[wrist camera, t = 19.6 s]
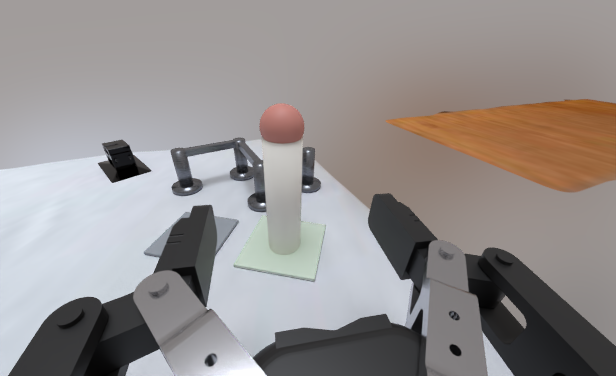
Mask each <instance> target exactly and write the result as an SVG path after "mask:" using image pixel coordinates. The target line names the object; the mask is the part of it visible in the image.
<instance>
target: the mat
mask: <svg viewBox="0 0 616 376" xmlns="http://www.w3.org/2000/svg"><path fill="white" fill-rule="evenodd" d="M190 214H191V213H190V212H185V213H184V214H183V215H182V216H181V217H180V218H179V219H178V220H177V221H176V222H175V223H174V224H173V225H172V226H171V227H170V228H169V229H168V230H166V231H165V232H164V233H163V234H162V235H161V236H160V237H159V238H158V239H157V240H156V241H155V242H154V243H153V244H152V245H151V246H150V247H149V248H148V249H147V250H145V251H144V254H145V255H151V256H156V257H160V256H161V254H162V251H163V249H164V247H165V245H166V242H167V239H168V237H169V234H170V232H171V230H172V227H173V226H174V225H175V224H176V223H177V222H178V221H179V220H180V219H181V218H189V217H190ZM214 219H215V224H216V229H217V246H216V252H215V255H216V254H217V252H218V251H219V249H220V248H221V246H222V245H223V244H224V242H225V241H226V239H227V238H228V236H229V235H230V233H231V232H232V231H233V229H234V228H235V226H236V225H237V223H238V222H239V221H238V220H236V219H229V218H223V217H216V216H214Z"/></svg>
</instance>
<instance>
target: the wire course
mask: <svg viewBox="0 0 616 376" xmlns="http://www.w3.org/2000/svg"><path fill="white" fill-rule="evenodd" d="M230 148H234V153H235V161H236V168H233V169H232V170H231V171H230V176H231V178H232V179H234V180H239V181H243V180H248V179H251V178H253V177H254V184H255V193H254V194H252V195H251V196H250V197H249V198H248V206H249V208H250V209H252V210H254V211H257V212H265V211H266V196H265V181H264V166H263V160H260V159H259V158H258V156H257V155H256V154H255V153H254V152H253V151H252V150H251V149H250V148H249V147H248V146H247V145H246V144H245V139H244V138H235V139H233V140H230V141H224V142H218V143H213V144H207V145H201V146H195V147H189V148H175V149H172V150H171V151H170V152H171V155H172V159H173V162H174V166H175V169H176V173H177V177H178V180H179V181H177V182H176V183H174V184H173V185H172V191H173V193H174V194H176V195H179V196H186V195H191V194H194V193H197V192H198V191H200V190H201V189H202V182H201V181H200V180H199V179H195V178H192V175H191V171H190V167H189V163H188V159H187V157H188V156H193V155H199V154H204V153H209V152H215V151H220V150H225V149H230ZM314 158H315V149H314V148H311V147H305V148H303V151H302V192H304V193H312V192H316V191H318V190H319V189H320V184H321V183H320V181H319V180H318V179H317V178H314V160H315V159H314ZM247 159H248V160H249V162H250V163H251V164H252V165H253V167H250V166H248V163H247Z"/></svg>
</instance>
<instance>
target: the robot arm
mask: <svg viewBox="0 0 616 376" xmlns="http://www.w3.org/2000/svg"><path fill="white" fill-rule="evenodd" d="M368 224H369V228H370V230H371V232H372V233H373V235H374V236H375V238H376V240H377V241H378V243H379V245H380V246H381V248H382V250H383V251H384V253H385V255H386V256H387V258H388V259H389V261H390V263H391V264H392V266H393V268H394V269H395V271H396V273H397V274H398V276H399V278H400V279H401V280H405V279H411V280H412V281H413V283H412V286H411V291H410V298H409V305H408V312H407V319H406V324H405V326H402V325H399V324H394V323H390V321H389V319H388V317H387V315H386V314H382V315H376V316H370V317H364V318H360V319H358V320H356V321H354V322H352V323H350V324H348V325H346V326H344V327H342V328H340V329H338V330H323V329H313V328H299V329H294V330H288V331H282V332H276V333H275V342H274V343H272V344H270V345H268V346H267V347H265V348H264V349H262V350H261V351H260V352H259V353H258V354H256V355H255V356H254V357H253V358H252V357H251V356H250V355H249V353H248V352H247V351H246V350H245V348H244V347H243V346H242V345H241V343H240V342H239V341H238V340H237V339H236V337H235V336H234V335H233V334H232V332H231V331H230V330H229V329H228V327H227V326H226V325H225V324H224V323H223V321H222V320H221V319H220V318H219V316H218V315H217V314H216V313H215V312H214V311H213V310H212V309H209V310H207V309H206V308H205V307H207V301H208V295H209V289H210V283H211V276H212V270H213V264H214V258H215V252H216V246H217V229H216V224H215V219H214V213H213V208H212V206H211V205H202V206H193V208H192V211H191V214H190V217H189V218H181V219H180V220H179V221H178V222H177V223H176V224H175V225H174V226H173V227H172V230H171V232H170V234H169V237H168V239H167V242H166V245H165V247H164V249H163V251H162V254H161V256H160V259H159V261H158V264H157V266H156V268H155V271H154V273H153V274H152V275H150V276H148V277H147V278H145V279H144V280H143V281H142V282H141V283H140V284H139V285H138V286H137V287H136V289H135V291H134V292H132V293H131V294H128V295H126V296H123V297H120V298H117V299H115V300H112V301H109V302H106V303H104V304H102V303H101V302H100V300H98V299H97V298H94V297H83V298H79V299H76V300H73V301H71V302H68V303H66V304H65V305H63V306H61V307H60V308H58V309H57V310H55V311H54V312H53V313H52V314H51V315H49V316H48V317H47V319H46V320H45V321H44V322H43V324H42V325H41V327H40V328H39V330H38V331H37V333H36V334H35V336H34V337H33V339H32V340H31V342H30V343H29V345H28V346H27V348H26V349H25V351H24V352H23V354H22V355H21V357H20V358H19V360H18V361H17V363H16V365H15V366H14V368H13V369H12V371H11V372H10V374H9V375H8V376H125V375H126V372H127V369H128V366H129V363H131V362H133V361H135V360H137V359H139V358H141V357H144V356H146V355H148V354H150V353H152V352H154V351H156V350H158V349H160V350H161V352H162V354H163V356H164V358H165V359H166V361H167V363H168V365H169V367H170V368H171V370H172V372H173V374H174V376H488V374H487V366H486V358H485V351H484V343H483V335H482V331H483V333H484V334H485V336H486V337H487V338H488V340H489V341H490V343H491V344H492V345H493V347H494V348H495V350H496V351H497V352H498V354H499V355H500V357H501V358H502V359H503V361H504V362H505V363H506V365H507V366H508V368H509V369H510V370H511V372H512V373H513V375H514V376H616V346H615V345H614V344H612V343H611V342H610V341H609V340H608V339H607V338H606V337H605V336H604V335H602V334H601V333H600V332H599V331H598V330H597V329H596V328H595V327H593V326H592V325H591V324H590V323H589V322H588V321H587V320H586V319H585V318H583V317H582V316H581V315H580V314H579V313H578V312H577V311H576V310H574V309H573V308H572V307H571V306H570V305H569V304H568V303H567V302H566V301H564V300H563V299H562V298H561V297H560V296H559V295H558V294H557V293H556V292H554V291H553V290H552V289H551V288H550V287H549V286H548V285H547V284H546V283H544V282H543V281H542V280H541V279H540V278H539V277H538V276H537V275H535V274H534V273H533V272H532V271H531V270H530V269H529V268H528V267H527V266H526V265H524V264H523V263H522V262H521V261H520V260H519V259H518V258H516V257H515V256H514V255H512V254H510V253H509V252H507V251H504V250H501V249H498V248H487V249H485V250H484V252H483V254H482V256H477V255H470V254H464V253H463V252H462V251H461V249H459V248H458V247H457V246H455V245H453V244H451V243H449V242H446V241H443V240H438V239H437V238H436V237H435V236H434V235H433V234H432V233H431V232H430V231H429V229H428V228H427V227H426V226H425V225H424V224H423V223H422V222H421V221H420V220H419V218H418V217H417V216H415V214H414V213H413V212H412V211H411V210H410V208H409V207H407V206H405V205H404V204H402V203H401V202H397V200H396V199H395V198H394V197H393V196H392V195H391V194H389V193H388V194H375V195H374V197H373V201H372V204H371V209H370V213H369V217H368ZM505 295H506V296H507V297H508V298H509V299H510V300H511V302H513V304H514V305H515V306H516V307H517V308H518V309H519V310H520V311H521V313H522V314H523V315H524V317H525V319H526V322H527V326H526V328H525V329H524V328H523V327H522V326H521V324H520V323H519V322H518V321H517V320H516V319H515V317H514V316H513V315H512V314H511V313H510V312H509V311H508V309H507V308H506V307H505V306H504V305H503V304H502V303H501V300H502V299H503V298H504V297H505Z"/></svg>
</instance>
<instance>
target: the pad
mask: <svg viewBox="0 0 616 376" xmlns="http://www.w3.org/2000/svg"><path fill="white" fill-rule="evenodd" d="M325 227H326V225H323V224H317V223H310V222H303V221H301V234H300V247H299V248H298V250H296V251H295V252H294V253H291V254H288V255H280V254H276V253H274V252H273V251H272V250H271V249H270V247H269V240H268V225H267V216H263V215H262V217H261V218H260V220H259V222H258V224H257V225H256V227H255V229H254V230H253V232H252V234H251V236H250V237H249V239H248V241H247V242H246V244H245V246H244V248H243V249H242V251H241V253H240V254H239V256H238V258H237V260H236V261H235V263H234V267H239V268H244V269H249V270H255V271H260V272H266V273H271V274H277V275H282V276H287V277H293V278H298V279H304V280H309V281H315V276H316V271H317V266H318V261H319V256H320V251H321V246H322V242H323V237H324V232H325Z"/></svg>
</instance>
